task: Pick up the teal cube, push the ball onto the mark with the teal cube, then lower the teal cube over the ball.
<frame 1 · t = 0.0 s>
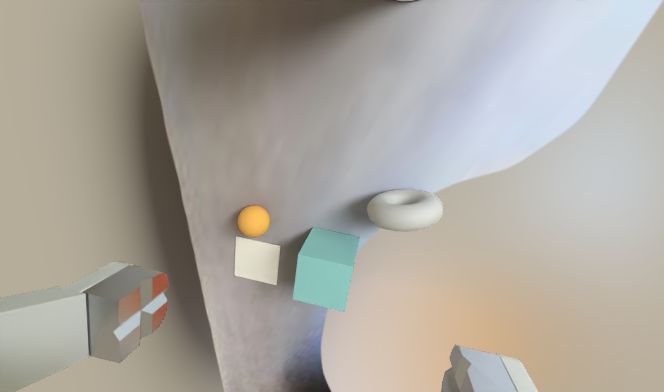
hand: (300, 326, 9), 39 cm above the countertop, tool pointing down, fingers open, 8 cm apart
ball: (253, 221, 50), on the countertop
mark: (257, 260, 56), on the countertop
teal cube: (332, 252, 53), on the countertop
donut: (402, 195, 47), on the countertop
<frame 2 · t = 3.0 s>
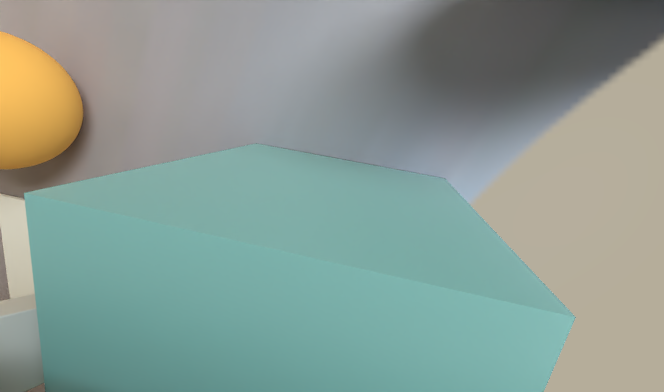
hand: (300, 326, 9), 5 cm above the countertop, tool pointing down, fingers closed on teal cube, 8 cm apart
mark: (75, 280, 17), on the countertop
teal cube: (332, 247, 14), on the countertop, touching gripper
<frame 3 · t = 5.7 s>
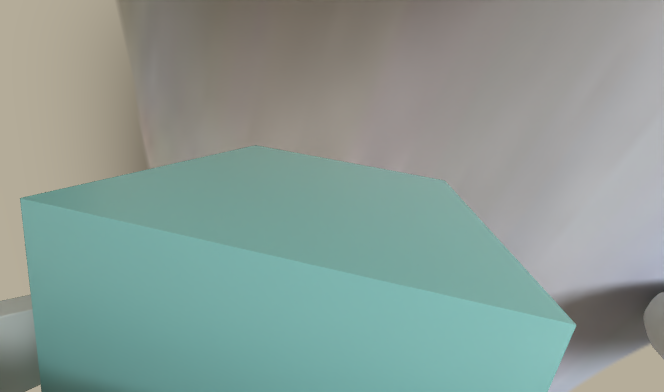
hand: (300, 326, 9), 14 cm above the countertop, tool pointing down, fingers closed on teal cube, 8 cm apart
teal cube: (331, 249, 14), point 9 cm above the countertop, touching gripper
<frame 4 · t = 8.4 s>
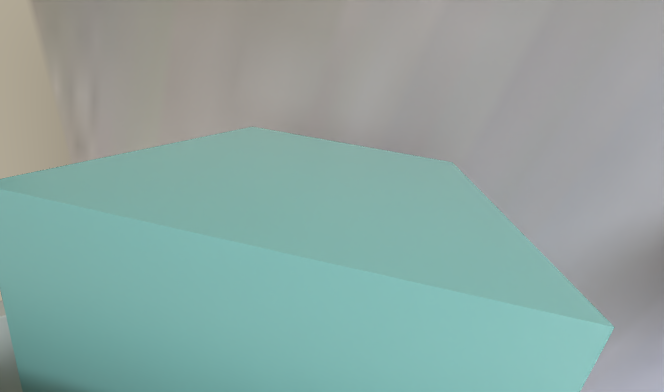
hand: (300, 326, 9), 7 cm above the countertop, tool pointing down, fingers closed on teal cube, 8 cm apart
teal cube: (333, 235, 13), point 2 cm above the countertop, touching gripper
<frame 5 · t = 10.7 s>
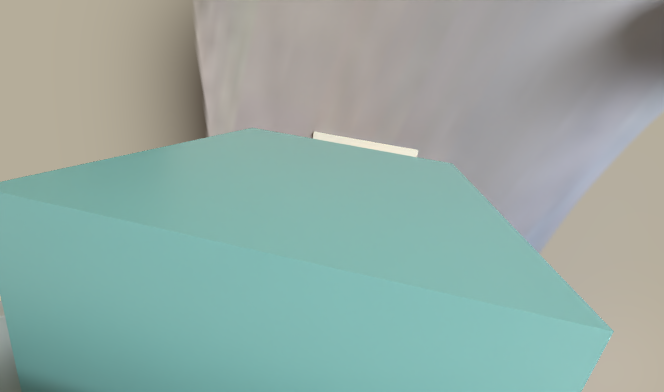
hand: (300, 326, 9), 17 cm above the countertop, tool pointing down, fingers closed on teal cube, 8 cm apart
mark: (355, 190, 25), on the countertop
teal cube: (333, 236, 13), point 12 cm above the countertop, touching gripper
when the fingers open (6 cm above the countertop, at t = 12.7 s): teal cube stays where it is, on the countertop.
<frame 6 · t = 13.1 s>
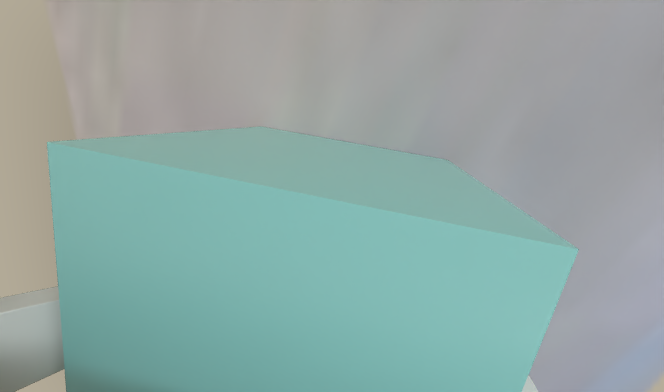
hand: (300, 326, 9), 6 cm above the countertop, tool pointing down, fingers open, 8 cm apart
teal cube: (335, 230, 14), on the countertop
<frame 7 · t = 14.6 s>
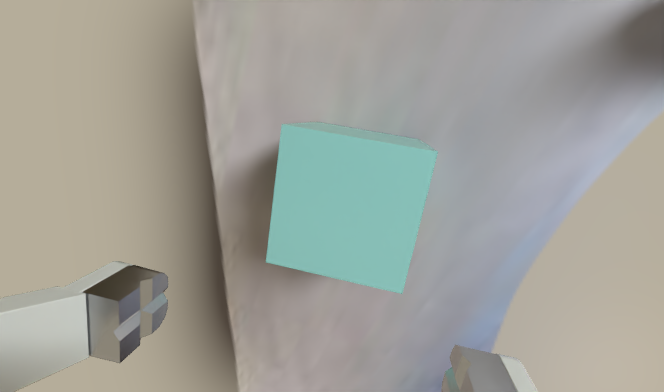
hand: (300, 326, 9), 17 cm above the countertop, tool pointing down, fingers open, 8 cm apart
teal cube: (358, 179, 25), on the countertop
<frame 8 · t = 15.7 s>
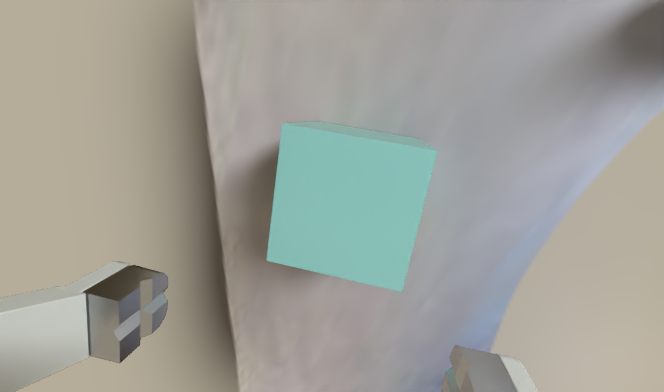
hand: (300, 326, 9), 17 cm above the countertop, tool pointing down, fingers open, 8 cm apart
teal cube: (358, 178, 25), on the countertop
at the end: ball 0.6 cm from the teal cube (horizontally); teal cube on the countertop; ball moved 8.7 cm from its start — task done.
